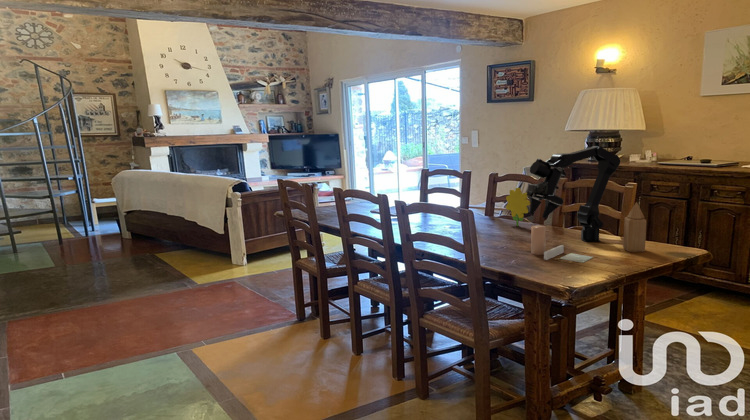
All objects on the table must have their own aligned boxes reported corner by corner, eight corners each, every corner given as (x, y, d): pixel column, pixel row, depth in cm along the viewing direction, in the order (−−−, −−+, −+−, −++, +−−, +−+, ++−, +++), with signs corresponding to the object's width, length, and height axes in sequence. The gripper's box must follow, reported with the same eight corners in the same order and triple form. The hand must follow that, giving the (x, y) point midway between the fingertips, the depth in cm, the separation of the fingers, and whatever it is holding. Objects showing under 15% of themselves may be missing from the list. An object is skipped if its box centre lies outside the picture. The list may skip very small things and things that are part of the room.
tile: (570, 254, 195) (570, 253, 195) (593, 257, 189) (593, 256, 189) (559, 258, 189) (559, 257, 189) (582, 262, 183) (582, 261, 183)
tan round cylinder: (543, 251, 201) (543, 225, 200) (546, 254, 196) (547, 228, 194) (529, 251, 202) (530, 225, 200) (532, 254, 197) (533, 228, 195)
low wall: (560, 252, 199) (560, 245, 198) (563, 252, 198) (563, 245, 197) (543, 259, 189) (544, 251, 189) (546, 259, 188) (546, 252, 188)
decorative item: (530, 227, 247) (530, 188, 244) (528, 228, 246) (528, 189, 243) (507, 223, 260) (507, 186, 257) (505, 223, 260) (506, 186, 256)
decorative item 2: (645, 252, 194) (648, 202, 191) (627, 252, 195) (629, 202, 192) (639, 248, 200) (642, 200, 197) (622, 248, 202) (624, 200, 198)
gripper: (523, 173, 213) (510, 206, 214) (549, 177, 195) (534, 213, 196) (543, 182, 217) (530, 215, 217) (570, 186, 199) (556, 222, 199)
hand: (537, 216), depth 207 cm, fingers open, 9 cm apart
